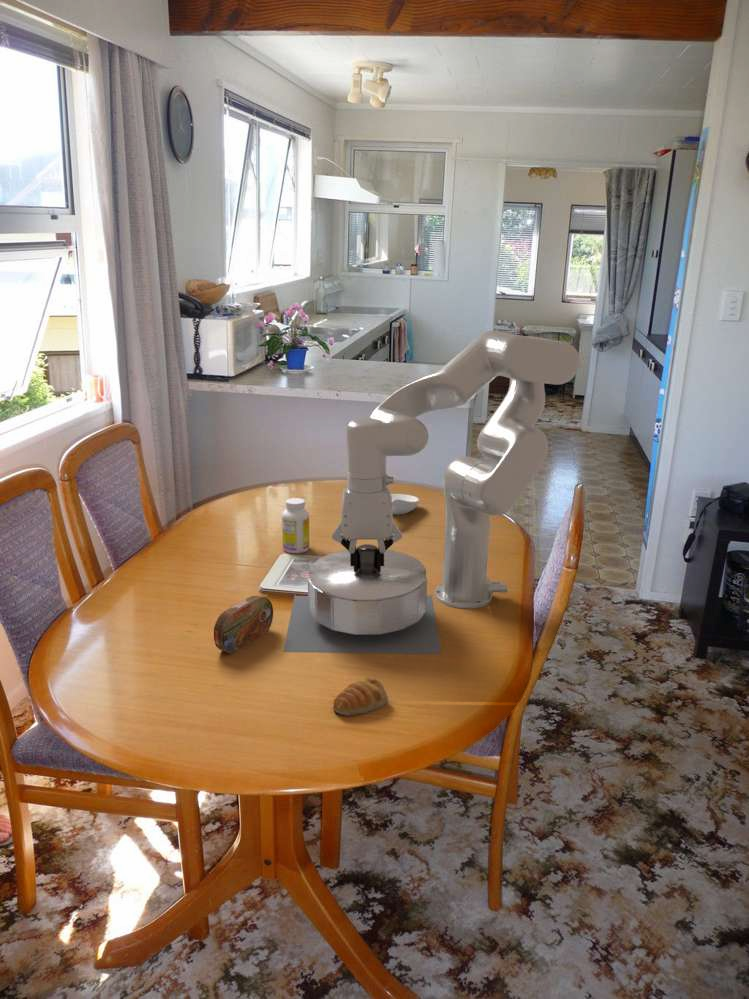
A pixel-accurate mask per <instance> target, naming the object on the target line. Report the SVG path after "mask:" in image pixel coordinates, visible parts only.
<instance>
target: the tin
mask: <svg viewBox="0 0 749 999" xmlns="http://www.w3.org/2000/svg"><path fill="white" fill-rule="evenodd" d="M273 617H274V606H273V603H272V601H271V600H270V599H269V598H267V597H266V596H260V595H259V596H258V595H250V596H249V597H246V598H245V599H243V600H241V601H240V602H238V603H236V604H235V605H233V606H231V607H230V608H227V609H226V610H224V611H222V613H221V614H220V615H218V617H217V620H216V621H215V623H214V625H213V626H214V627H213V642H214V645H215V647H216V648H217V649H218V650H220V651H222V652H225V653H227V654H228V655H229V654H230V655H233V654H235V652H236V651H238V650H239V649H241V648H243V647H245V646H246V645H248V644H250V643H252V642H253V641H255V640H257V639H258V638H260V637H261V636H263V635H265V634H267V633H268V632H269V630H270V627H271V626H272V623H273V619H274V618H273Z"/></svg>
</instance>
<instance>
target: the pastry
mask: <svg viewBox="0 0 749 999" xmlns="http://www.w3.org/2000/svg"><path fill="white" fill-rule="evenodd" d="M388 701H389V696H388V694H387V691H386V690H385V688H384V684H383V683H382V682H381V681H380V680H379V679H378V678H376V677H370V676H368V677H367V678H364V679H362V680H359V681H355V682H352V683H350V684H349V685H347V687H345V688H344V689H343V690H342V691H341V692H340V693H338V695H337V696H336V697H335V698H334V700H333V707H332V710H333V711H334V712H336V713H337V714H339V715H342V716H347V717H350V715H351V716H353V715H352V714H354V715H363V714H364V713H365V714H367V713H369V712H372V711H374V709H375V710H377V708H378V709H379V707H380V708H382V707H383V706H385V705H387V703H388ZM371 710H372V711H371ZM368 711H369V712H368Z"/></svg>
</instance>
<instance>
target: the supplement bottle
mask: <svg viewBox="0 0 749 999" xmlns="http://www.w3.org/2000/svg"><path fill="white" fill-rule="evenodd" d="M285 506H286V509H284V510H283V511H282V513H281V528H282V549H283V551H284V552H286V553H288V554H294V555H295V554H303V553H306V552H308V551H309V549H310V513H309V511H308V510H307V509H306V508H305V506H306V501H305V499H303V498H299V497H292V498H288V499H286V500H285Z"/></svg>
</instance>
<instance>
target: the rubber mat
mask: <svg viewBox="0 0 749 999" xmlns="http://www.w3.org/2000/svg"><path fill="white" fill-rule="evenodd" d="M435 614H436V613H435V608H434V601H433V597H432V595H431V594H427V610H426V612H425V613H424V614H423V616H422V617H421V619H420V620H419V621H418V622H416V623H414V624H412V625H410V626H408V627H406V628H404V629H403V630H398V631H393V632H388V633H384V634H357V635H355V634H350V633H345V632H340V631H335V630H332V629H330V628H328V627H326V626H324V625H322V624H320V623H318V622H316V620H315V619H314V618H313V616H312V615H311V614H310V612H309V607H308V596H296V595H295V594H294V597H293V601H292V607H291V612H290V617H289V621H288V622H289V623H288V627H287V632H286V635H285V641H284V648H283V653H286V652H287V653H328V654H329V653H336V654H337V653H341V654H345V653H346V654H350V653H351V654H391V655H392V654H396V655H397V654H399V655H401V654H402V655H404V654H405V655H407V654H408V655H442V649H441V645H440V643H441V642H440V638H439V633H438V627H437V619H436V615H435Z"/></svg>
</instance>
